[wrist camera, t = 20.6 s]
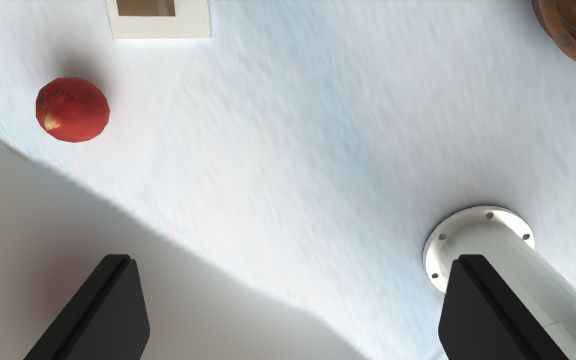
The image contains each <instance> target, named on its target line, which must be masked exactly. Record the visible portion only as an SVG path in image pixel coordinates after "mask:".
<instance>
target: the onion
mask: <svg viewBox="0 0 576 360" xmlns="http://www.w3.org/2000/svg"><path fill="white" fill-rule="evenodd" d="M109 113H110V110H109V106H108V103H107V100H106V98H105V96H104V95H103V93H102V92H101V91H100V90H99V89H98V88H96V87H95V86H94V85H93V84H91V83H90V82H88V81H85V80H82V79H79V78H57V79H55V80H54V81H52V82H50V83H49V84H47V85H46V86H44V87H43V88H42V89H41V90H40V91H39V94H38V97H37V99H36V118H37V120H38V122H39V124H40V126H41V127H42V128H43V129H44V130H45V131H46V132H47V133H48V134H50V135H52V136H53V137H55V138H56V139H58V140H62V141H67V142H73V143H76V142H83V141H88V140H91V139H92V138H94V137H96V136H97V135H99V134H100V133H101V132H102V131H103V130H104V128H105V126H106V125H107V123H108V120H109Z"/></svg>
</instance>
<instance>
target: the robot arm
mask: <svg viewBox="0 0 576 360" xmlns="http://www.w3.org/2000/svg"><path fill="white" fill-rule="evenodd" d="M534 249H535V240H534V236H533V233H532V230H531V229H530V227H529V225H528V224H527V223H526V222H525V221H524V220H523V219H522V218H521V217H519V216H518V215H517V214H515V213H514V212H512V211H510V210H508V209H506V208H502V207H497V206H477V207H472V208H468V209H465V210H462V211H460V212H457V213H455V214H453V215H451V216H450V217H448V218H447V219H445V220H444V221H443V222H442V223H441V224H439V225H438V226H437V227H436V228H435V229H434V231H433V232H432V233H431V235H430V236H429V238H428V240H427V242H426V244H425V247H424V251H423V266H424V270H425V272H426V274H427V276H428V278H429V279H430V281H431V283H432V284H433V285H434V286H435V287H436V288H437V289H439V290H440V291H442V292H443V293H445V299H444V304H443V308H442V313H441V318H440V322H439V327H438V334H439V339H440V342H441V344H442V346H443V348H444V350H445V352H446V355H447V357H448V359H449V360H576V289H575V288H574V287H573V286H572V285H571V284H570V283H569V282H568V281H567V280H566V279H565V278H564V277H563V276H561V275H560V274H559V273H558V272H557V271H556V270H555V269H554V268H553V267H552V266H551V265H550V264H549V263H548V262H547V261H546V260H544V259H543V258H542V257H541V256H540V255H539V254H538V253H537V252H536V251H535V250H534ZM149 327H150V326H149V321H148V317H147V312H146V307H145V302H144V297H143V293H142V288H141V283H140V278H139V274H138V268H137V264H136V261H135V260H134V259H130V256H129V255H127V254H108V255H106V256H105V257H104V258H103V259H102V261H101V262H100V263H99V265H98V266H97V267H96V268H95V269H94V271H93V272H92V273H91V275H90V276H89V277H88V279H87V280H86V281H85V282H84V284H83V285H82V286H81V287H80V289H79V290H78V291H77V292H76V294H75V295H74V296H73V297H72V299H71V300H70V301H69V303H68V304H67V305H66V306H65V307H64V309H63V310H62V311H61V312H60V314H59V315H58V316H57V317H56V319H55V320H54V321H53V323H52V324H51V325H50V326H49V328H48V329H47V330H46V331H45V333H44V334H43V335H42V337H41V338H40V339H39V340H38V341H37V343H36V344H35V345H34V347H33V348H32V349H31V350H30V352H29V353H28V354H27V355H26V357H25V358H24V359H23V360H140V357H141V355H142V353H143V350H144V348H145V346H146V344H147V342H148V339H149V335H150V328H149Z"/></svg>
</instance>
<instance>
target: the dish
mask: <svg viewBox="0 0 576 360" xmlns="http://www.w3.org/2000/svg"><path fill="white" fill-rule="evenodd" d="M532 4H533V8H534V11H535V13H536V16H537V18H538V20H539V22H540V24H541V25H542V27H543V28H544V30H545V31H546V32H547V34H548V35H549V36H550V37H551V38H552V39H553V40H554V41H555V43H556V44H557V45H558V47H559V48H560V49H561V50H562V51H563V52H564V53H565V54H566V55H567V56H569V57H570V58H572V59H573V60H574V61H576V0H532Z"/></svg>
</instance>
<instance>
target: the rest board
mask: <svg viewBox="0 0 576 360" xmlns="http://www.w3.org/2000/svg"><path fill="white" fill-rule="evenodd" d="M106 3H107V9H108V14H109V20H110V25H111V31H112V36H113V39H151V38H212V34H211V22H210V10H209V0H174V6H175V15H176V17H137V16H119V14H118V9H117V3H116V0H106Z"/></svg>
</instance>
